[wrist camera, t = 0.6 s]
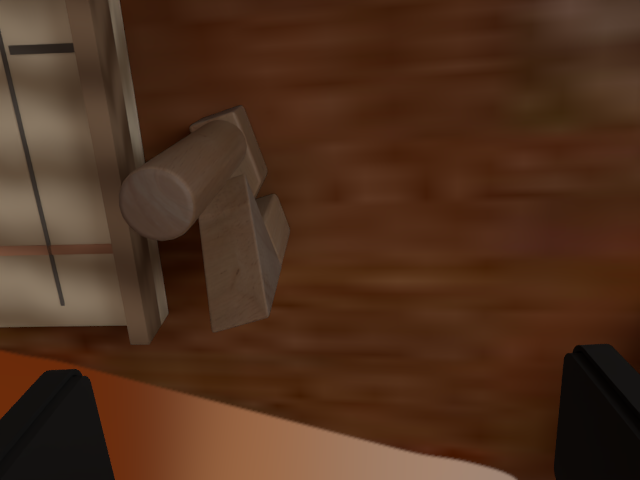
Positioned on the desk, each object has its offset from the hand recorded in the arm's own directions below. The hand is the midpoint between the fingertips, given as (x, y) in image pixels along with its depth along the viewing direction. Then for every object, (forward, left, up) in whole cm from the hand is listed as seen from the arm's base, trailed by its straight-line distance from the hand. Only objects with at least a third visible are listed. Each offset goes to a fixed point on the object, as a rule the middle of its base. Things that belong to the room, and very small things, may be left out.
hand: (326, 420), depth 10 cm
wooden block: (+3, -7, -32) cm, 33 cm away
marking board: (+1, -22, -32) cm, 39 cm away
